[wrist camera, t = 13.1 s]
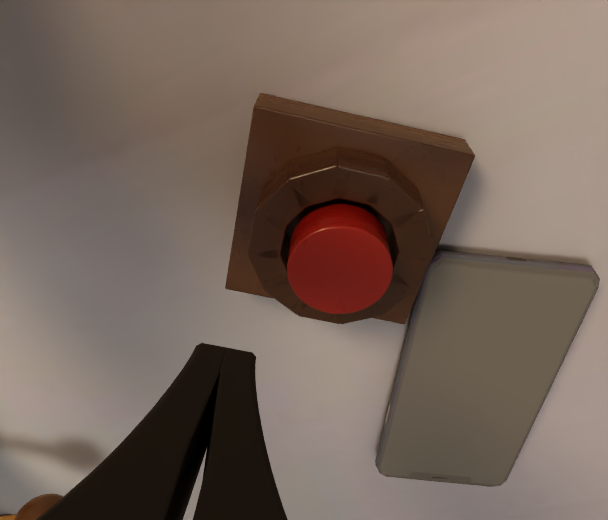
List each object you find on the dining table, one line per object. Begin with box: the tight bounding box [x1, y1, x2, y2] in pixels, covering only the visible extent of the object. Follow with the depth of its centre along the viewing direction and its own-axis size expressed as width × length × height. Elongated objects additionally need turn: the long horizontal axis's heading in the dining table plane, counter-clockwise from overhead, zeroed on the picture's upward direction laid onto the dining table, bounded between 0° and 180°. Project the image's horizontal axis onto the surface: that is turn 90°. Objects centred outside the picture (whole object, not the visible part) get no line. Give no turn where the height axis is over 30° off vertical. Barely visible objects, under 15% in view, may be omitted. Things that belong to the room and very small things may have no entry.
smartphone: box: [375, 251, 600, 487], centre depth 25 cm, size 8×1×15 cm
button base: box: [225, 93, 475, 324], centre depth 20 cm, size 8×8×4 cm
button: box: [287, 203, 393, 314], centre depth 18 cm, size 4×4×2 cm
